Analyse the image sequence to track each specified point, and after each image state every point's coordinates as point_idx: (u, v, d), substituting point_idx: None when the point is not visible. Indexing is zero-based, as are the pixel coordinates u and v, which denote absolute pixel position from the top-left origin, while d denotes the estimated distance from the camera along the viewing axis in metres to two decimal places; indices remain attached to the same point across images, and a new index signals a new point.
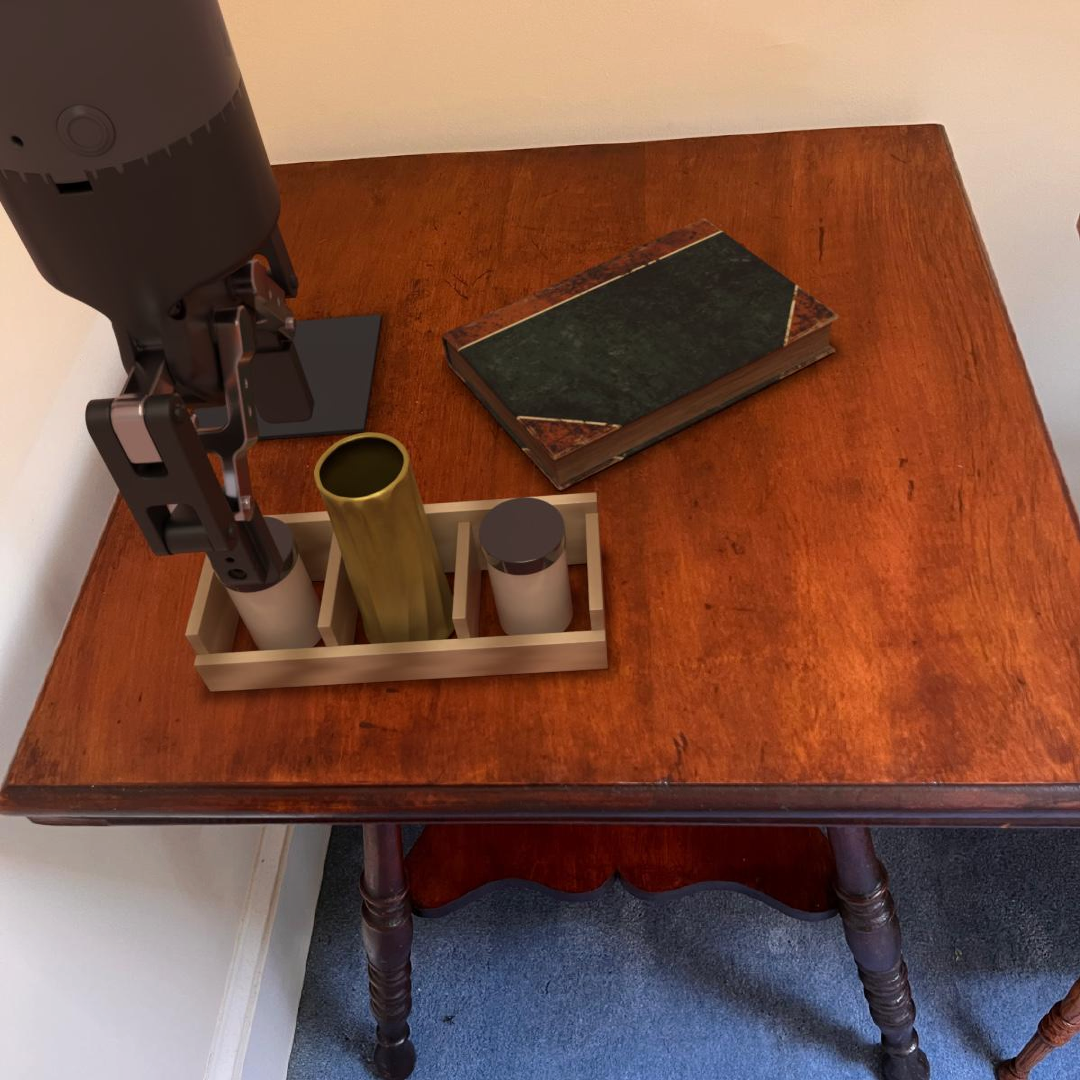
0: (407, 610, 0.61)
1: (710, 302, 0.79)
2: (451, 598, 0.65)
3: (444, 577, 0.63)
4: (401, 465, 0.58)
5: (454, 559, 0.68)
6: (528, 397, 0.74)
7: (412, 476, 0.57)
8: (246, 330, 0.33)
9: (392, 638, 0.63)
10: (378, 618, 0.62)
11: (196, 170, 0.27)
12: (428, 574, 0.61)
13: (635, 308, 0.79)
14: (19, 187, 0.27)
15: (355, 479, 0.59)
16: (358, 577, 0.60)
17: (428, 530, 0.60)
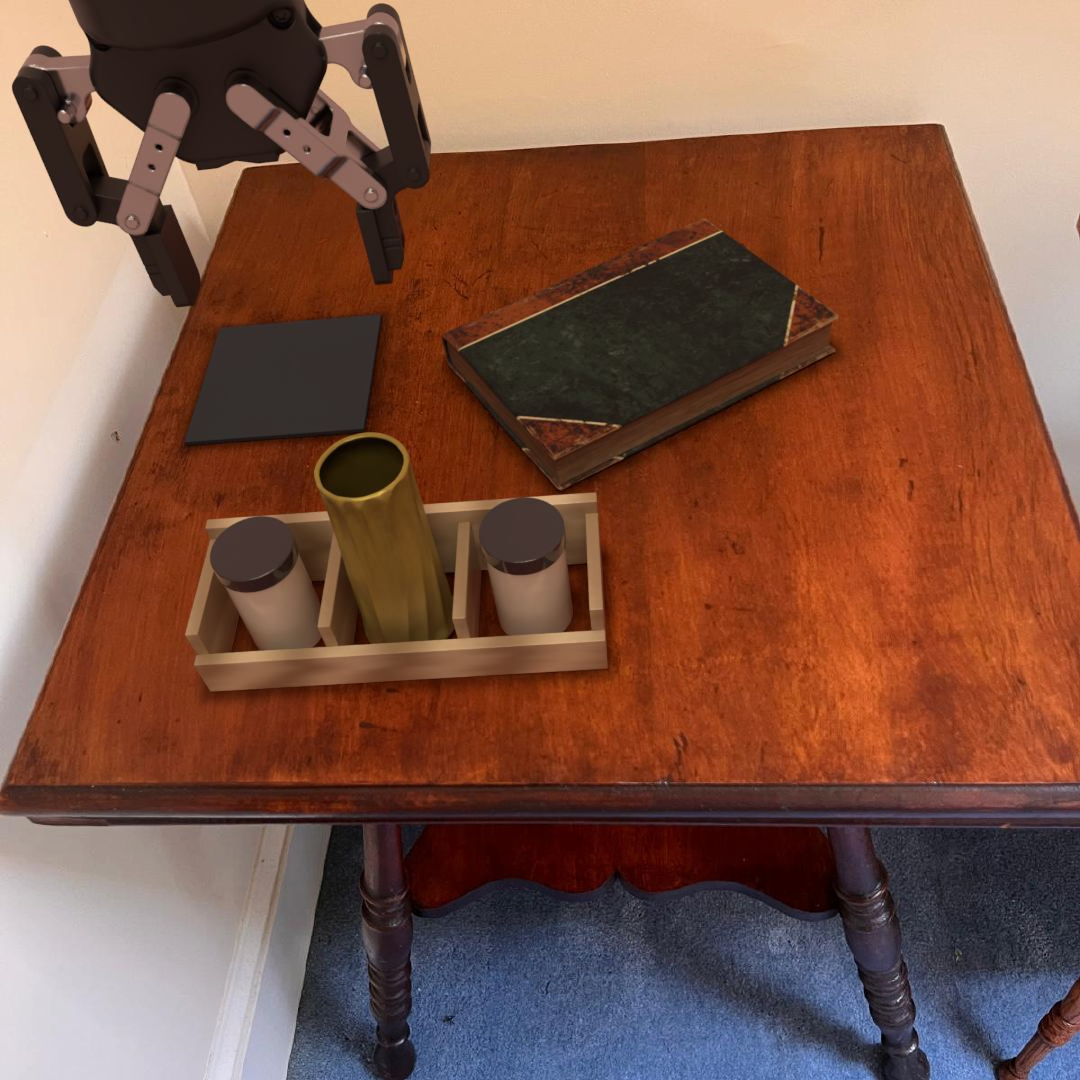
0: (407, 610, 0.61)
1: (710, 302, 0.79)
2: (451, 598, 0.65)
3: (444, 577, 0.63)
4: (401, 465, 0.58)
5: (454, 559, 0.68)
6: (528, 397, 0.74)
7: (412, 476, 0.57)
8: (172, 114, 0.36)
9: (392, 638, 0.63)
10: (378, 618, 0.62)
11: None
12: (428, 574, 0.61)
13: (635, 308, 0.79)
14: None
15: (355, 479, 0.59)
16: (358, 577, 0.60)
17: (428, 530, 0.60)
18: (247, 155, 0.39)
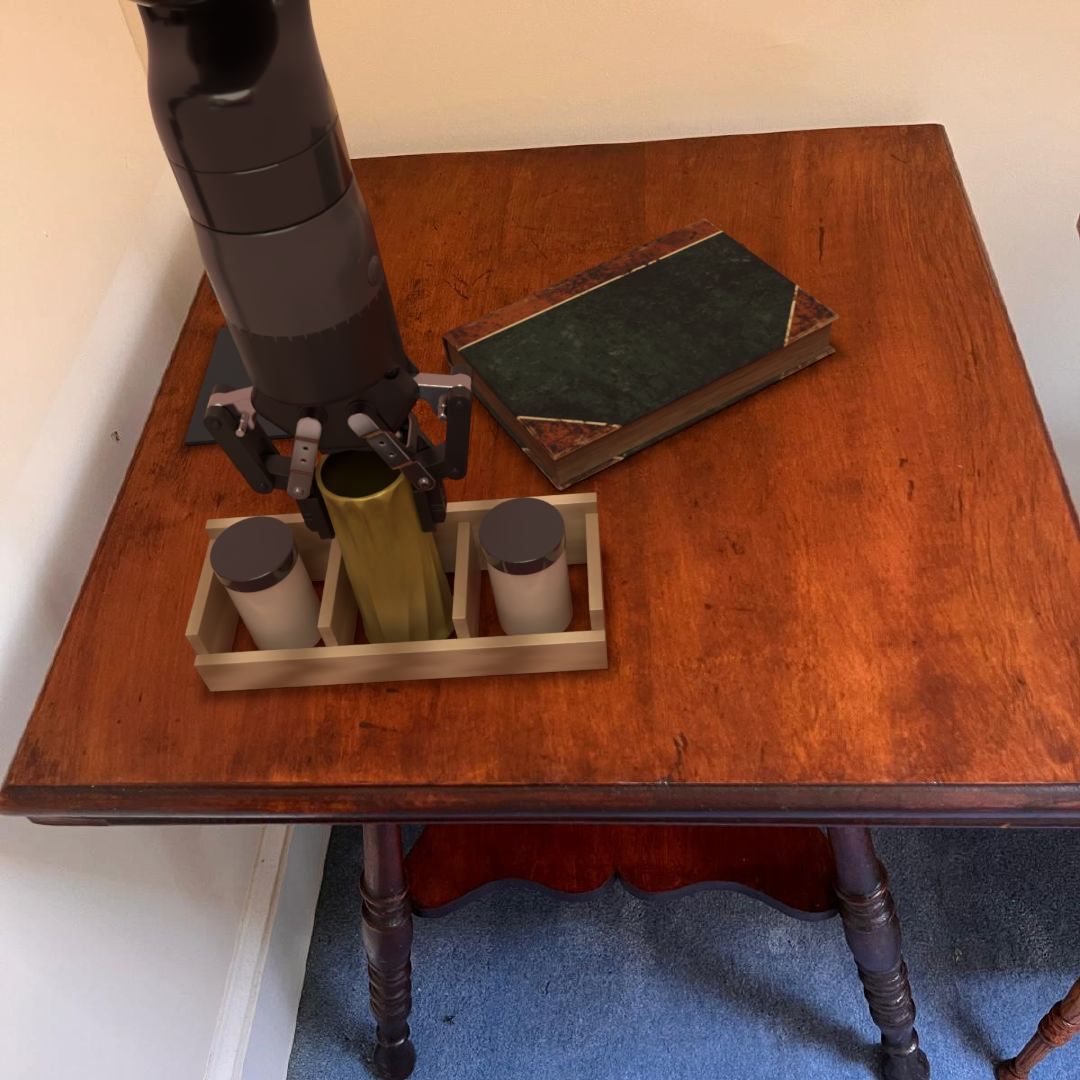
0: (407, 610, 0.61)
1: (710, 302, 0.79)
2: (451, 598, 0.65)
3: (444, 577, 0.63)
4: None
5: (454, 559, 0.68)
6: (528, 397, 0.74)
7: None
8: (309, 429, 0.51)
9: (392, 638, 0.63)
10: (378, 618, 0.62)
11: (243, 343, 0.46)
12: (429, 575, 0.61)
13: (635, 308, 0.79)
14: None
15: (356, 479, 0.59)
16: (358, 577, 0.60)
17: None
18: (358, 447, 0.53)
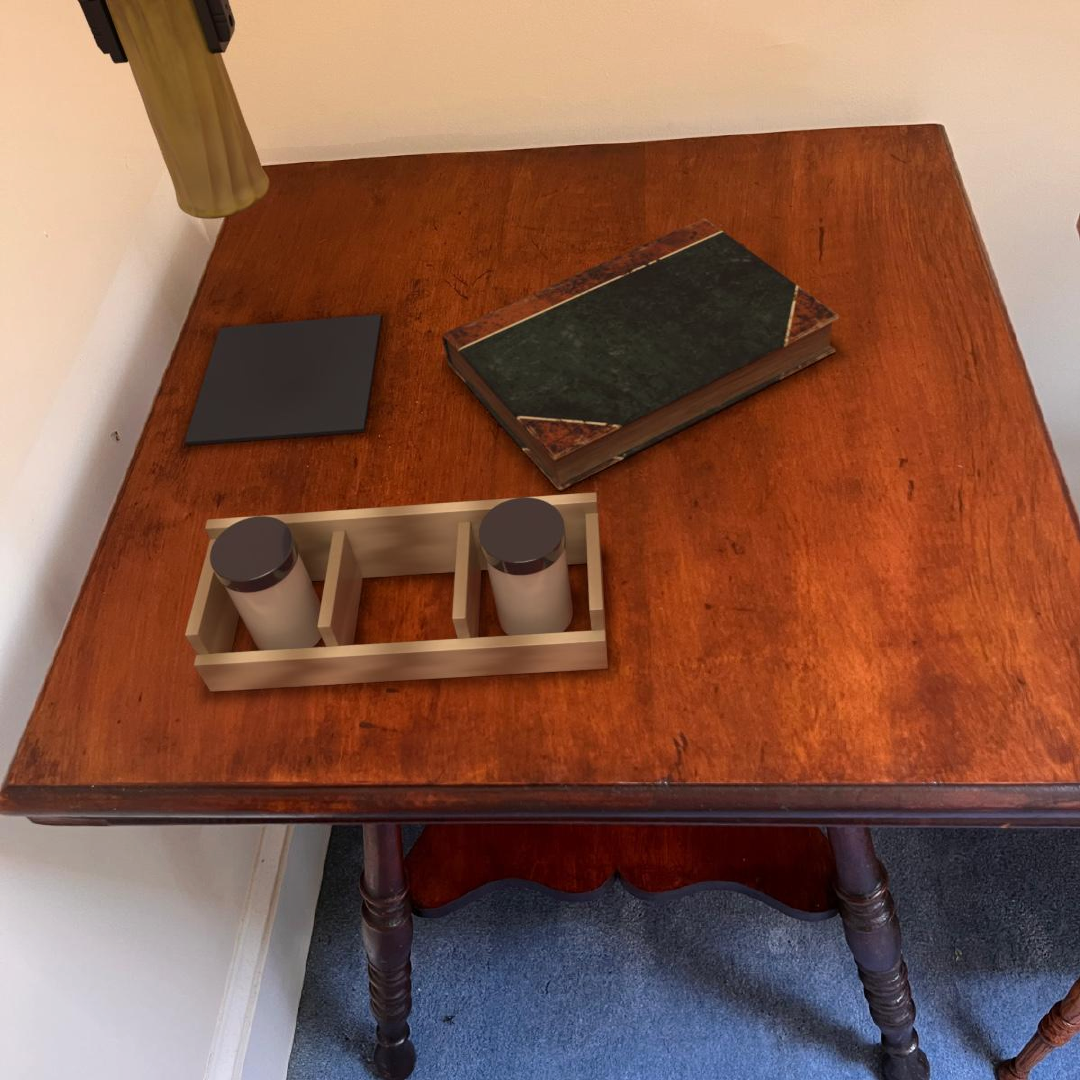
0: (204, 149, 0.63)
1: (710, 302, 0.79)
2: (259, 164, 0.67)
3: (248, 133, 0.65)
4: None
5: (454, 559, 0.68)
6: (528, 397, 0.74)
7: None
8: None
9: (196, 191, 0.65)
10: (178, 161, 0.64)
11: None
12: (224, 111, 0.63)
13: (635, 308, 0.79)
14: None
15: None
16: (152, 105, 0.61)
17: (221, 61, 0.62)
18: None
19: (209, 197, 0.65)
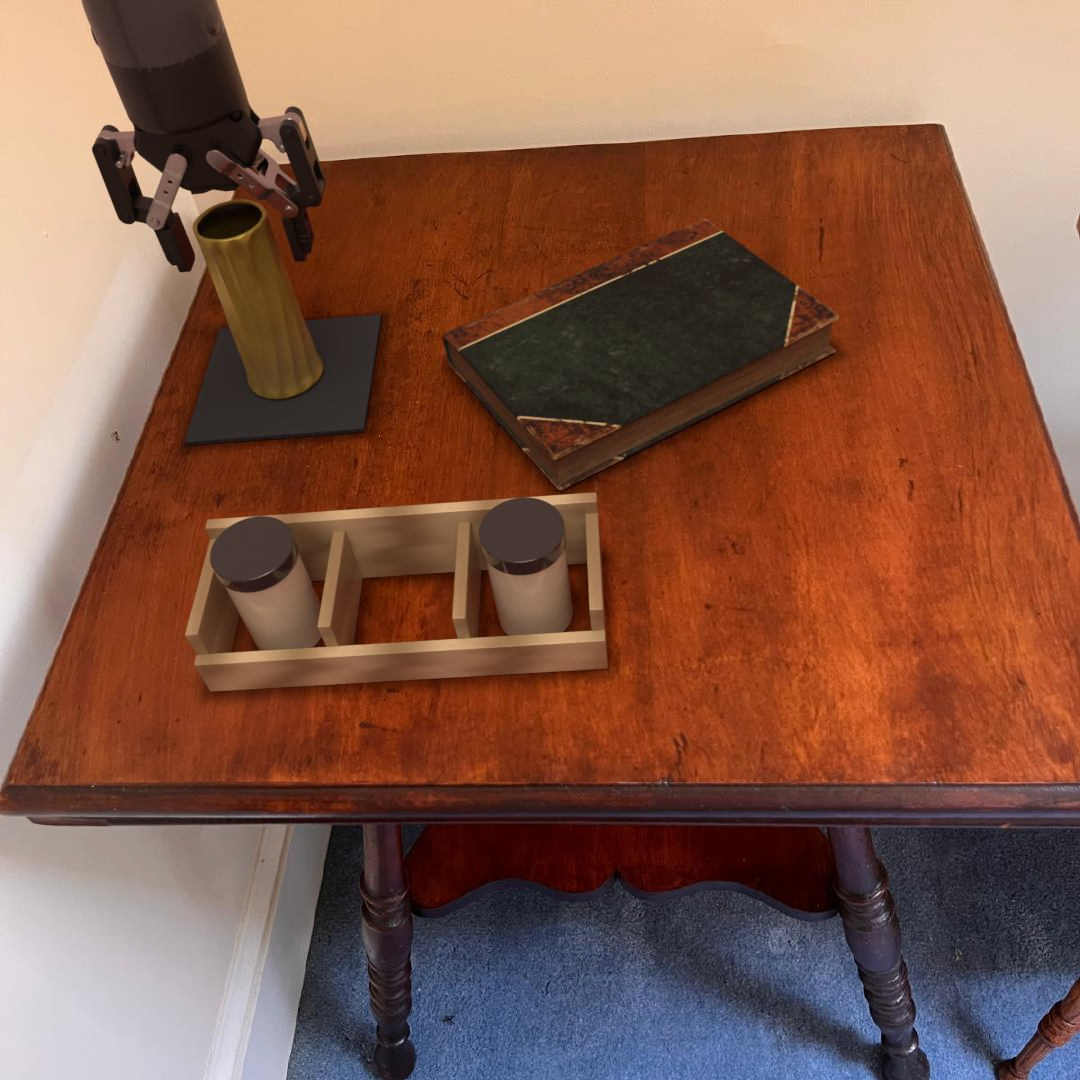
0: (274, 350, 0.78)
1: (711, 302, 0.79)
2: (315, 353, 0.82)
3: (307, 332, 0.80)
4: None
5: (454, 559, 0.68)
6: (528, 397, 0.74)
7: (270, 231, 0.73)
8: (177, 164, 0.67)
9: (266, 379, 0.80)
10: (252, 359, 0.79)
11: (118, 79, 0.62)
12: (290, 321, 0.77)
13: (635, 308, 0.79)
14: None
15: None
16: (233, 319, 0.76)
17: (288, 283, 0.77)
18: (219, 186, 0.69)
19: (276, 384, 0.80)
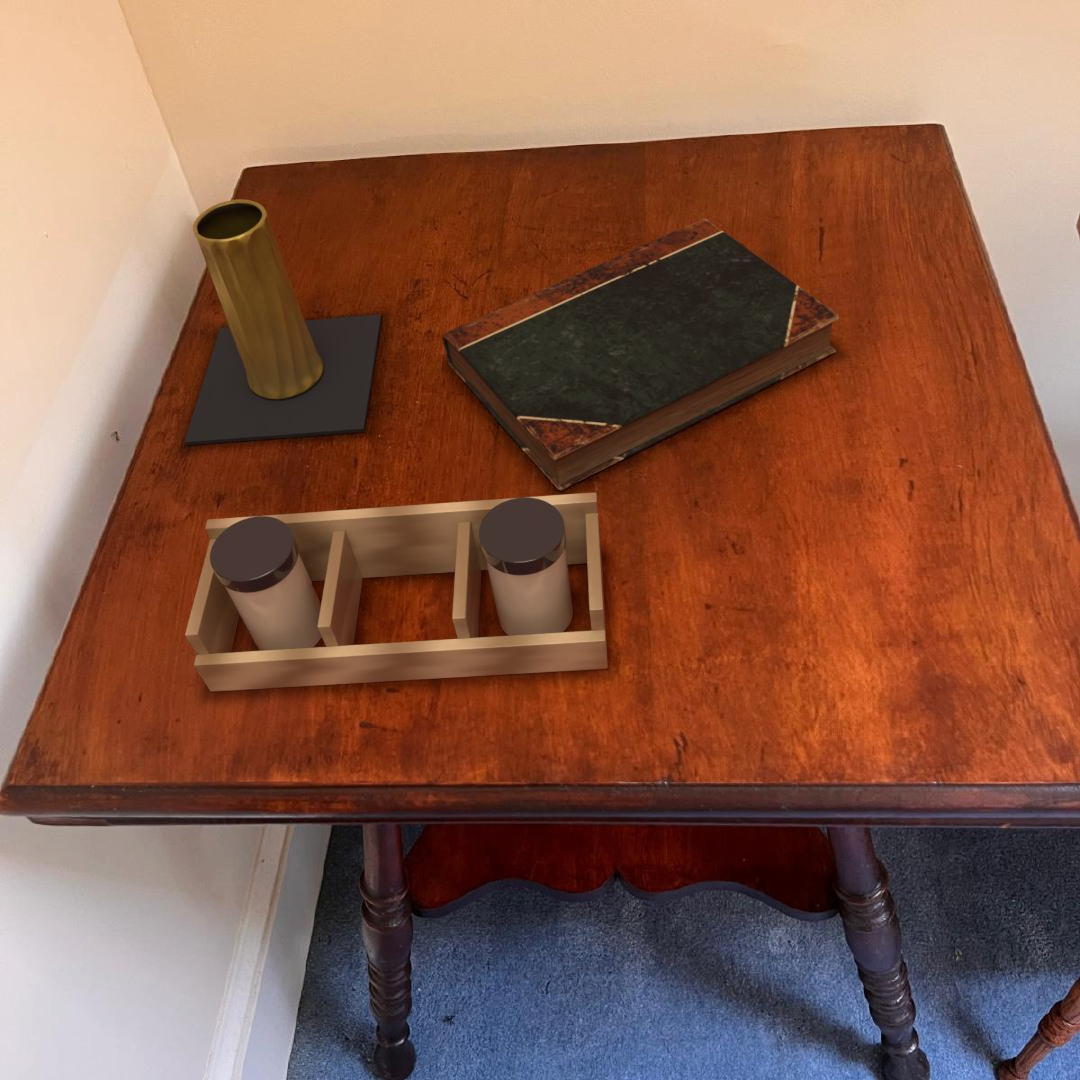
0: (274, 350, 0.78)
1: (711, 302, 0.79)
2: (315, 353, 0.82)
3: (307, 332, 0.80)
4: None
5: (454, 559, 0.68)
6: (528, 397, 0.74)
7: (270, 231, 0.73)
8: None
9: (266, 379, 0.80)
10: (252, 359, 0.79)
11: None
12: (290, 321, 0.77)
13: (636, 308, 0.79)
14: None
15: None
16: (233, 319, 0.76)
17: (288, 283, 0.77)
18: None
19: (276, 384, 0.80)
